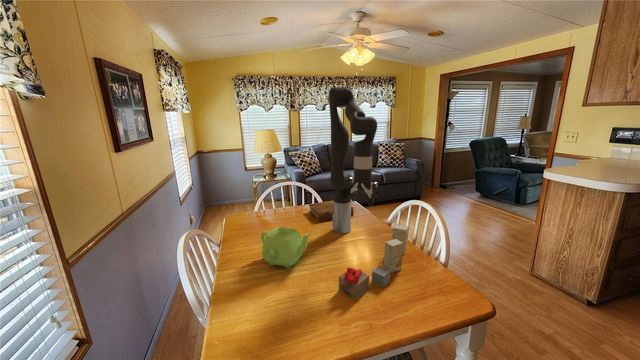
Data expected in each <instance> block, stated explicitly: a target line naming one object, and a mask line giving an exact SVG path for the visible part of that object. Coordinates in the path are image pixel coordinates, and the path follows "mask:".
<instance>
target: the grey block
mask: <svg viewBox="0 0 640 360" xmlns="http://www.w3.org/2000/svg"><path fill="white" fill-rule="evenodd" d="M390 281H391V273H390V270H388V269H386V268H384V266H381V265H378V266H377V267H376V268H374V269H372V271H371V283H372V284H374V285H376V286H379V287H381V288H383V289H384V288H385V286H387V285H388V284H389V283H390Z"/></svg>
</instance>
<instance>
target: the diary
mask: <svg viewBox="0 0 640 360" xmlns="http://www.w3.org/2000/svg"><path fill="white" fill-rule="evenodd" d="M308 206H309V209H310V210H309V211H308V212H309V214H310V215H312V216H313V217H314V218H315V220H316V221H318V223H321V222H326V221H333V213H334V199H333V200H329V201H322V202H317V203H316V202H315V203H309V204H308ZM352 216H354V207H352V206H351V217H352Z"/></svg>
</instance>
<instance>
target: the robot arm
mask: <svg viewBox="0 0 640 360" xmlns="http://www.w3.org/2000/svg"><path fill="white" fill-rule="evenodd" d="M328 105H329V106H328V107H329V116H330V148H331V149H330V150H331V152H330V153H331V163H330V164H331V165H330V168H331V169H330V178H329V179H330V185H331V187H332V189H333V190H335V191H336V193H335V194H334V195H333V200H334V213H333V219H332V230H333V231H334V232H335V233H337V234H343V235H344V234H349V233H350V232H351V230H352V216H351V207H352V202H353V203H354V202H355V201H357V191H363V192H365V194H367V196H368V199H367V201H368V202H367V203H368V205H367V206H369V207H371V206H373V205H374V202H375V201H374V200H375V199H374V198H376V197H378V196H379V182H377V181H374V182H373V181H372V177H373V157H372V156H373V151H372V150H373V144H374V140H375V136H376V134H377V133H376V132H377V131H378V130H377V129H378V122H377V119H376V118H375V117H373V116H366V113H365V112H364V111H363V109H362V108H361V107H360V105H359V104H358V101H357V99H356V97H355V95H354V92H353V91H352V89H351V88H350V87H347V86H338V87H336V86H334V87H330V88H329V91H328ZM338 108H345V110H344V114H345V117H346V118H347V119H348V121H349V125H350V127H349V128H350V132H351V134H353V135H355V136H364V138H363V139H361V140H358V141H356V142H354V156H353V175H352V173H351V172H350V171H348V170H344V166H345V165H344V164H345V160H346V158H347V156H348V153H349V150H350V149H349V148H350V133H349V131H348V129H347V128H346V126H345V124H344V123H343V122H342V119H341V118H340V115H339V110H338Z"/></svg>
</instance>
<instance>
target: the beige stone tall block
mask: <svg viewBox="0 0 640 360" xmlns="http://www.w3.org/2000/svg"><path fill="white" fill-rule="evenodd" d="M408 230H409V226H407V225H400V224H394V225H393V226H392V233H391V234H392V235H391V237H392V238H391V240H394V239H397V240H399V241H401V242H402V243H403V251H402V255H405V254H406V251H407V245H408V244H407V241H408Z"/></svg>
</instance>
